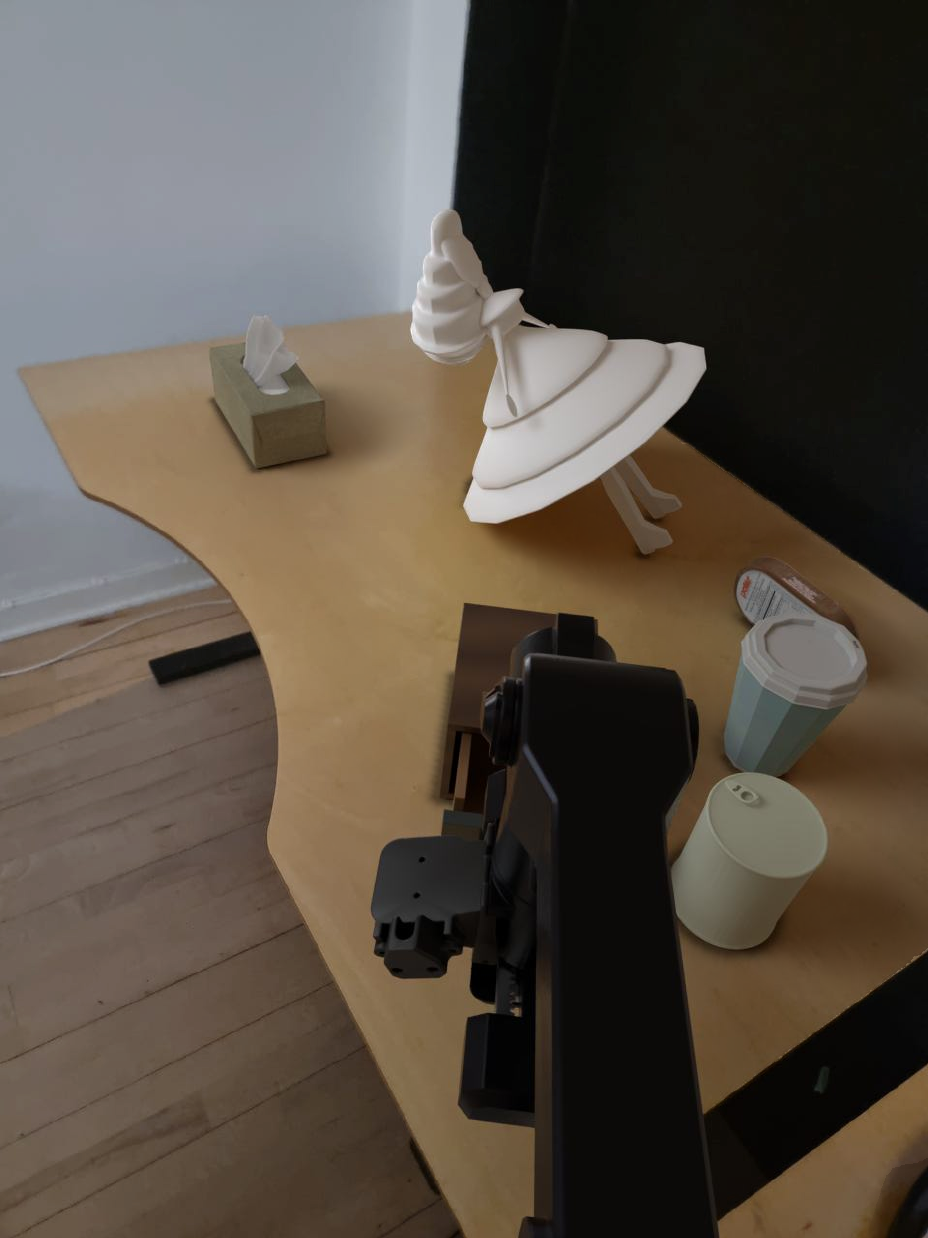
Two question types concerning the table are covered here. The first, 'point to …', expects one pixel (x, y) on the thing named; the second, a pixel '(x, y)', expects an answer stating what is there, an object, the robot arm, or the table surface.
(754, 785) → the can
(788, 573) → the tin
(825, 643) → the disposable coffee cup
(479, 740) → the drawer
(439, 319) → the figurine
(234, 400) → the tissue box
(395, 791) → the table surface
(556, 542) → the table surface
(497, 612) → the cabinet
